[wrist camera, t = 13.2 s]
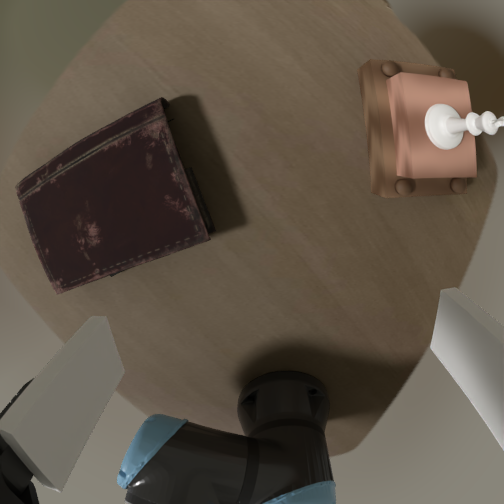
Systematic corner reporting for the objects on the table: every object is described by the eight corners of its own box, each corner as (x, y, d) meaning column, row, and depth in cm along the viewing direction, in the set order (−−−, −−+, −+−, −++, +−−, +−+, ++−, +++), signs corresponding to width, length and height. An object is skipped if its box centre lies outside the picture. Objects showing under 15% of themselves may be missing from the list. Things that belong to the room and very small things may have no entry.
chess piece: (416, 114, 25) (475, 103, 15) (447, 97, 24) (507, 84, 15) (437, 157, 26) (500, 163, 17) (466, 138, 25) (529, 139, 16)
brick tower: (446, 188, 36) (485, 198, 27) (371, 192, 36) (401, 204, 28) (435, 76, 31) (471, 63, 22) (357, 70, 32) (382, 49, 23)
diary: (32, 179, 37) (12, 182, 33) (169, 101, 34) (157, 93, 30) (74, 288, 42) (57, 301, 37) (218, 236, 39) (212, 247, 34)
